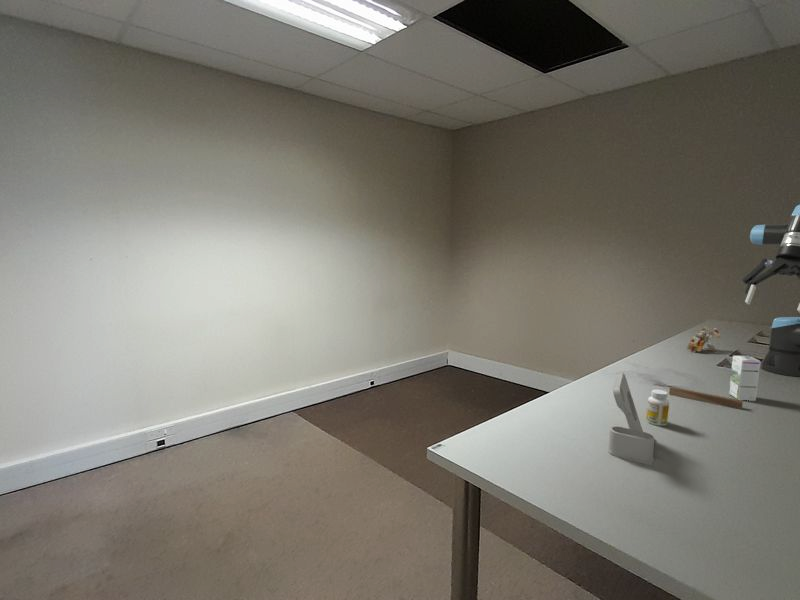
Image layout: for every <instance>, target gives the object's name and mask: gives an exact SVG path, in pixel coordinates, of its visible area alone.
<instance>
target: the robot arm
mask: <svg viewBox="0 0 800 600" xmlns="http://www.w3.org/2000/svg"><path fill="white" fill-rule="evenodd" d="M749 238H750V242H751V243H752V244H754V245H759V246H763V245H765V246H774V245H775V246H780V247H778V250H777V252H776V255H775V258H774V260H769V259H767V258H763V259H762V260H761V261H760V263H759V264H758V265H757V266H756V267H755V268H754V269H753V270H752V271H750V272H749V273H748V274H747V275H745V277H744V278H742V280H741V281H742V282H743V283H744V284H745V285H747V286H746V288H745V291H744V292H745V294H746V298H745V300H744V303H745V304H746V305H751V302H752V300H753V297H754V294H755V292H756V289H757V287H756V286H757V285H758V284H760V283H762V282H764V281H765V280H767V279H769V278H770V277H772V276H775V275H777V274H778V275H779V276H780V275H781V276H784V275H786V276H789V277H792V276H796V277H797V278H798V280H799V281H800V204H797V205H796V206H795V208H794V210H793V212H792V213H791V214H790V219H789V221H788V224H784V223H783V224H778V223H777V224H776V223H775V224H757V225H754V226H753V227H752V228H751V230H750V234H749ZM771 265H772V267H770V266H771ZM767 267H770V268H769V269H768V270H766V271H765V272H763V271H764V270H765V269H767ZM796 310H797V312H798V313H799V314H800V302H799V303H798V306H797V308H796ZM768 344H769V345H768V350H767V352H766V354H765V355H764V357H763V359H762V360H761V362H760V369H762V370H765V371H767V372H770V373H774V374H777V375H783V376H789V377H790V376H791V377H800V316H781V317H780V316H779V317H776V318H774V319H773V320H772V325H771V326H770V336H769V343H768Z"/></svg>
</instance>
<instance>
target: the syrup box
mask: <svg viewBox="0 0 800 600" xmlns="http://www.w3.org/2000/svg"><path fill="white" fill-rule="evenodd" d="M731 362H732V363H731V369H730V379H729V389H728V395H730V396H731V397H732V398H733V399H737V400H742V401H743V400H747V401H746V402H756V400H757V393H758V385H759V375H760V369H761V362H762V360H759V359H757V358H755V357H752V356H749V355H732V361H731ZM748 400H749V401H748Z"/></svg>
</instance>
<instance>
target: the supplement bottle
mask: <svg viewBox="0 0 800 600" xmlns="http://www.w3.org/2000/svg"><path fill="white" fill-rule="evenodd" d="M669 411H670V401H669V399H668V392H667V391H666V390H662V389H652V390H651V396H649V397H648V398H647V408H646V417H645V418H646V421H647V422H648V423H649V424H651V425H653V426H659V427H662V426H667V425H668V419H669Z"/></svg>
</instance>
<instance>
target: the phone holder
mask: <svg viewBox="0 0 800 600" xmlns="http://www.w3.org/2000/svg"><path fill="white" fill-rule="evenodd" d="M612 393H613V397H614V400H615V403H616V406H617V408H618V409H620V411H621V412H622V413H623V414H624V416H625V419H626V422H627V425H628V428H626V427H622V426H616V425H615V426H612V427H610V429H609V440H608V441H609V442H608V451H607V453H608V454H609V455H610V456H612V457H613V456H614V457H617V458H621V459H625V460H628V461H632V462H636V463H640V464H644V465H649V466H651V465H653V464H654V447H655V437H654V435H652V434H651V433H648V432H645V431H644V430H643V428H642V427H643V426H642V425H641V421H640V418H639V415H638V412H637V409H636V405H635V402H634V399H633V396H632V393H631V390H630V387H629V383H628V380H627V377H626V375H625V373H624V372H623V373H617V374H616V377H615V380H614V383H613V387H612Z"/></svg>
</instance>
